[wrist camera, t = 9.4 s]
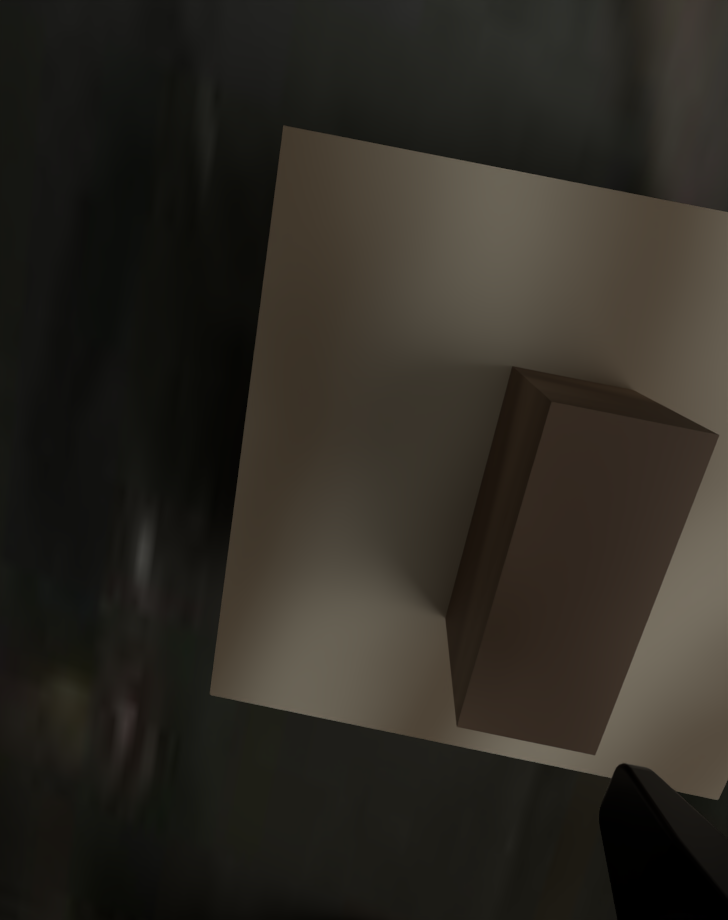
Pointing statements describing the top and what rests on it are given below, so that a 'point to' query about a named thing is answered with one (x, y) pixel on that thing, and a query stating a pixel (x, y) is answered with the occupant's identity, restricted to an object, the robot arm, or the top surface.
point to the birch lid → (486, 465)
